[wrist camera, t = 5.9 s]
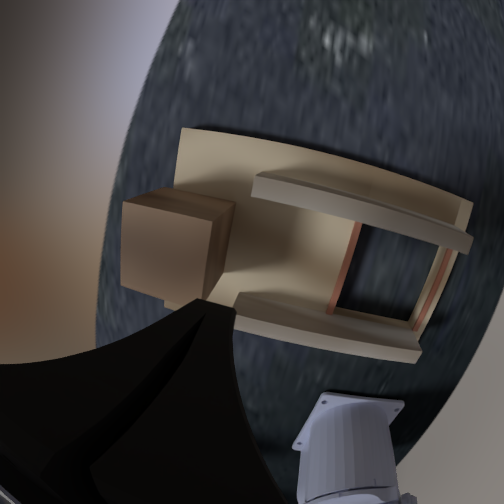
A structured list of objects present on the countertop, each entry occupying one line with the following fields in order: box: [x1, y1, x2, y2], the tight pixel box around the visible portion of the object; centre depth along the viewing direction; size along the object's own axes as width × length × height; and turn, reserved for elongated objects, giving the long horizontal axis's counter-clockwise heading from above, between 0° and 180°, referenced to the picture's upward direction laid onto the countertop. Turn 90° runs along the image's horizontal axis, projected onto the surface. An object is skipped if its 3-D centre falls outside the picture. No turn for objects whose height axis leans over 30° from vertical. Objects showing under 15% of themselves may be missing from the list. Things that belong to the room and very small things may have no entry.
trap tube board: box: [164, 128, 474, 364], centre depth 16 cm, size 12×18×4 cm, turn 79°
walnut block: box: [121, 187, 236, 306], centre depth 15 cm, size 4×4×4 cm
